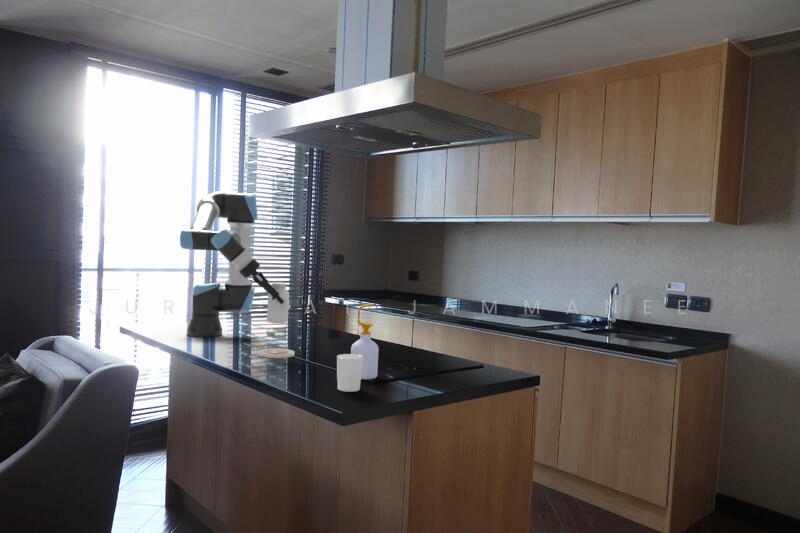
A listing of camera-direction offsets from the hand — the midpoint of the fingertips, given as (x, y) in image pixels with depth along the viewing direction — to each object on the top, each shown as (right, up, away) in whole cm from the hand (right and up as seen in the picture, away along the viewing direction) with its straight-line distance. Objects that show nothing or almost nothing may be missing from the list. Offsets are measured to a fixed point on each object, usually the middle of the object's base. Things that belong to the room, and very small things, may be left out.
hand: (286, 307), depth 225 cm
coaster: (-4, -18, 0) cm, 19 cm away
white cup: (+28, -21, -49) cm, 60 cm away
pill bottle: (-4, -6, -1) cm, 7 cm away
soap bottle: (+31, -21, -31) cm, 49 cm away
